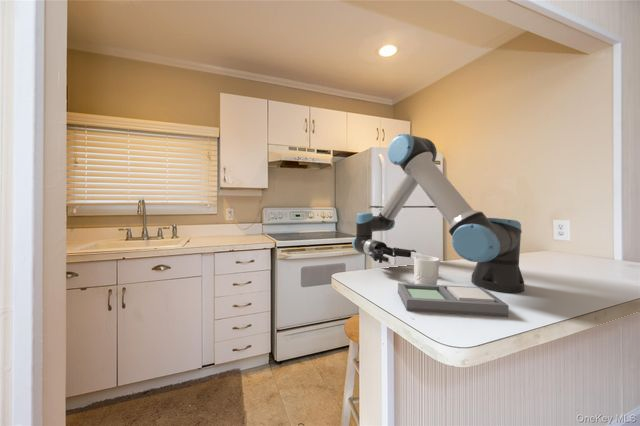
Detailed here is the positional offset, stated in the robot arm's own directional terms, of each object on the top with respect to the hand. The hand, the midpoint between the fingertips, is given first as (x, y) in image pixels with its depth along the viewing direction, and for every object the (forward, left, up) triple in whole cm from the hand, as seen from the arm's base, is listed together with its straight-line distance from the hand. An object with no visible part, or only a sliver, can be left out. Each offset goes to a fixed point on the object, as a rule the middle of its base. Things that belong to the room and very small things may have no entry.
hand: (410, 260), depth 95 cm
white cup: (-3, +8, -7) cm, 12 cm away
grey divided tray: (-6, +21, -7) cm, 23 cm away
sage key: (0, +21, -6) cm, 22 cm away
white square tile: (-12, +21, -5) cm, 25 cm away
